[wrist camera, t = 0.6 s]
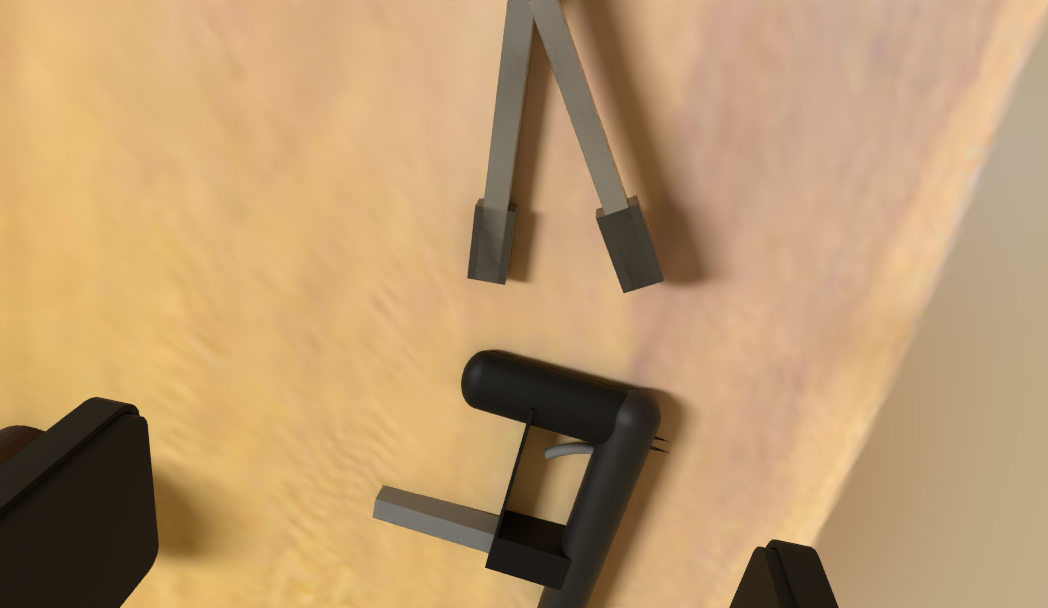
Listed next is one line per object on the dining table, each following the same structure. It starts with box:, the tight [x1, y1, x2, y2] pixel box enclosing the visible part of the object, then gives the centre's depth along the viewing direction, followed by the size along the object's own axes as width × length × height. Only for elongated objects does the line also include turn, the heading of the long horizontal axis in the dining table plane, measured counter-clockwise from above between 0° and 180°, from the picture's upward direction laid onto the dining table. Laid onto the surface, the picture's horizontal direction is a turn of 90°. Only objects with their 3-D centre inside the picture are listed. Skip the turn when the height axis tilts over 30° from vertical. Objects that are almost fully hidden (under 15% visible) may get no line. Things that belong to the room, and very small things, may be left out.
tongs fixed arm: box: [467, 0, 535, 285], centre depth 30 cm, size 22×2×2 cm, turn 172°
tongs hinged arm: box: [528, 0, 664, 293], centre depth 28 cm, size 22×2×2 cm, turn 22°
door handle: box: [373, 350, 669, 608], centre depth 41 cm, size 3×20×16 cm
